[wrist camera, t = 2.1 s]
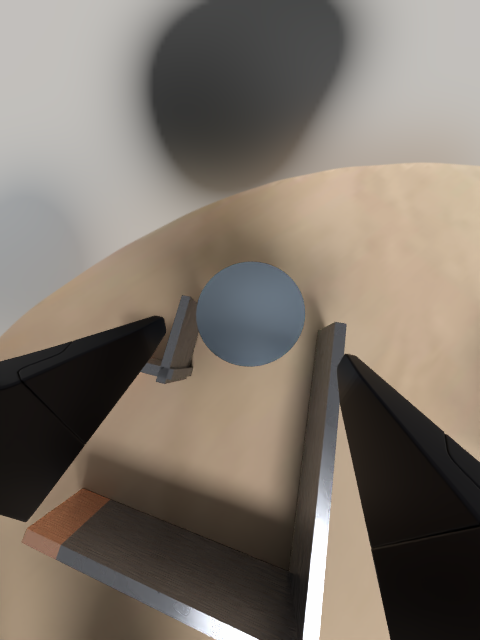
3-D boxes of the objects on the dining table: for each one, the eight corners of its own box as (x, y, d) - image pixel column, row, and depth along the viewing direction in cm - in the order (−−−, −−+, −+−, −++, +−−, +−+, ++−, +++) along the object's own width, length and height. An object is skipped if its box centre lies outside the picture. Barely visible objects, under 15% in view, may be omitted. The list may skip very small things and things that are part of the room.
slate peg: (289, 345, 17) (329, 324, 7) (247, 373, 17) (231, 390, 7) (261, 305, 18) (262, 243, 9) (221, 331, 18) (178, 297, 8)
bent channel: (326, 332, 17) (346, 323, 13) (297, 589, 13) (314, 688, 9) (148, 299, 20) (121, 284, 16) (79, 498, 16) (21, 542, 12)
